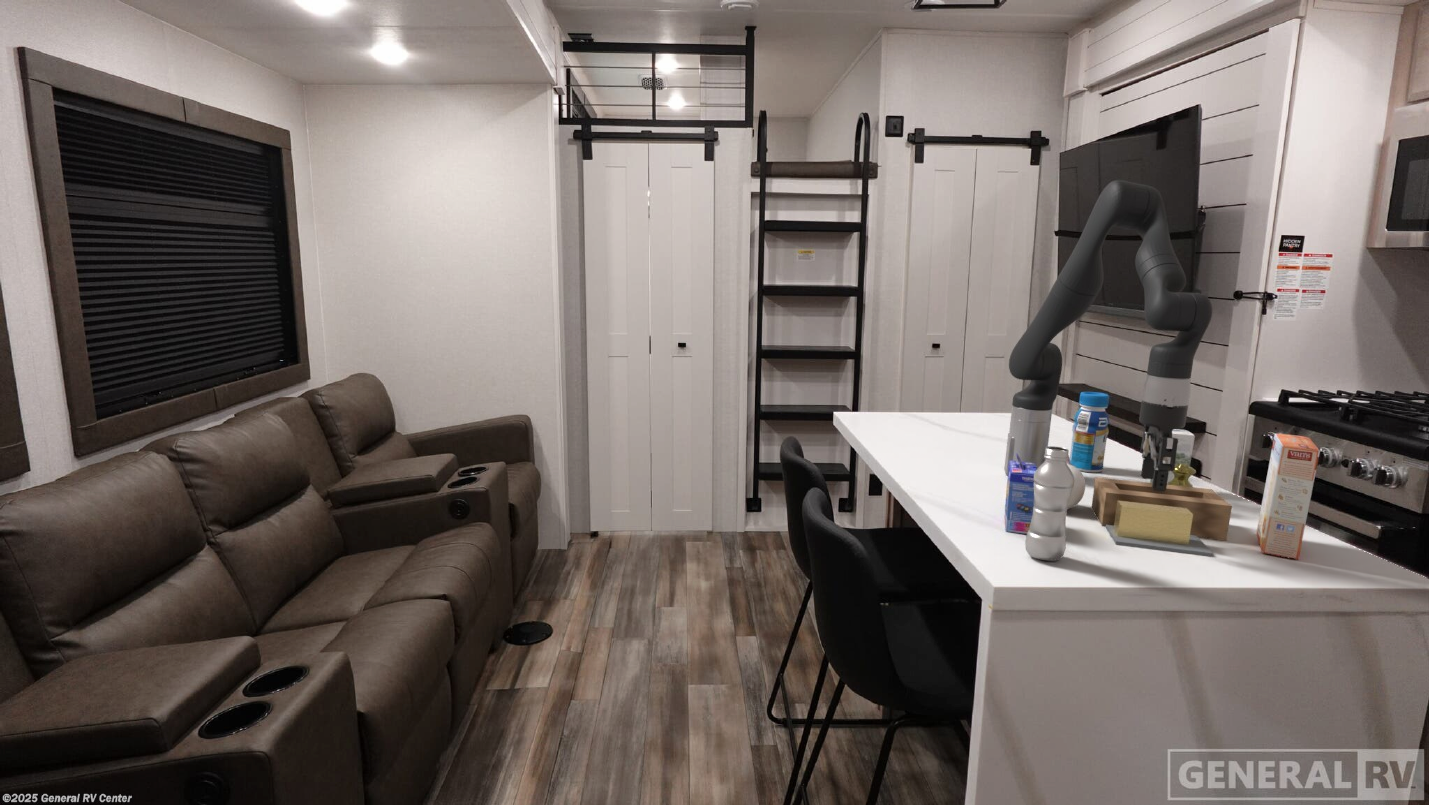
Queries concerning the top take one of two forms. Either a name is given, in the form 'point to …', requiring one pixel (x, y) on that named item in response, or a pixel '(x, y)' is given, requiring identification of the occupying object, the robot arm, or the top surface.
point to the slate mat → (1162, 544)
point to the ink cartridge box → (1019, 496)
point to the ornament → (1076, 486)
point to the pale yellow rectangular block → (1153, 522)
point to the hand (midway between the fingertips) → (1152, 484)
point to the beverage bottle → (1090, 432)
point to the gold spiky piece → (1182, 475)
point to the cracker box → (1287, 495)
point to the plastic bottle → (1050, 506)
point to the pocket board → (1165, 504)
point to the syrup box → (1182, 449)
